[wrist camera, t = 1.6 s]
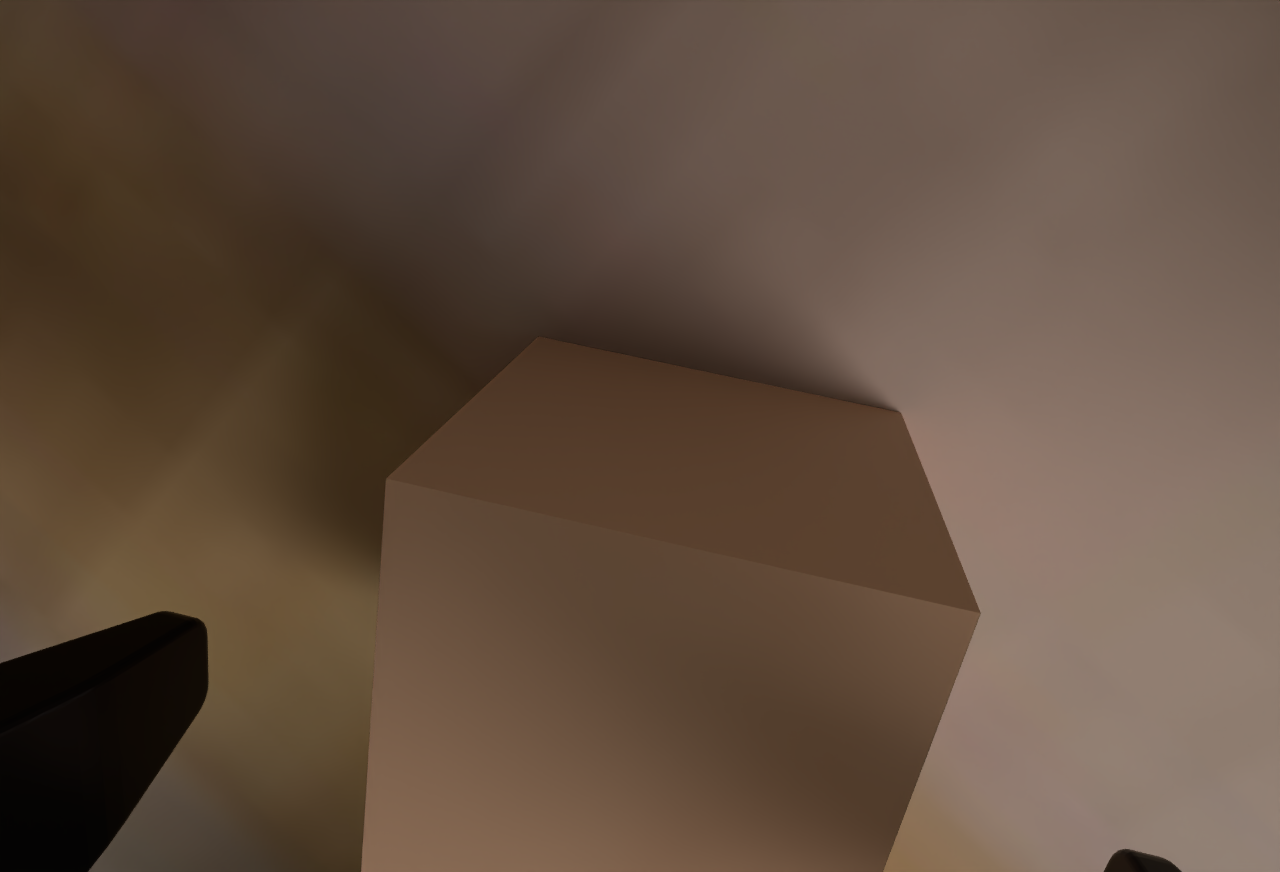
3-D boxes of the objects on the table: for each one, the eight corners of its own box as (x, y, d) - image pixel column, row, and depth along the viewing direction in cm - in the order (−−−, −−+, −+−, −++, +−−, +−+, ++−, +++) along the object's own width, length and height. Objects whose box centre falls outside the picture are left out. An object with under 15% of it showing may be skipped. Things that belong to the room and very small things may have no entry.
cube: (810, 707, 13) (825, 1022, 9) (500, 633, 14) (359, 898, 9) (900, 410, 11) (980, 613, 7) (540, 335, 12) (385, 478, 7)
